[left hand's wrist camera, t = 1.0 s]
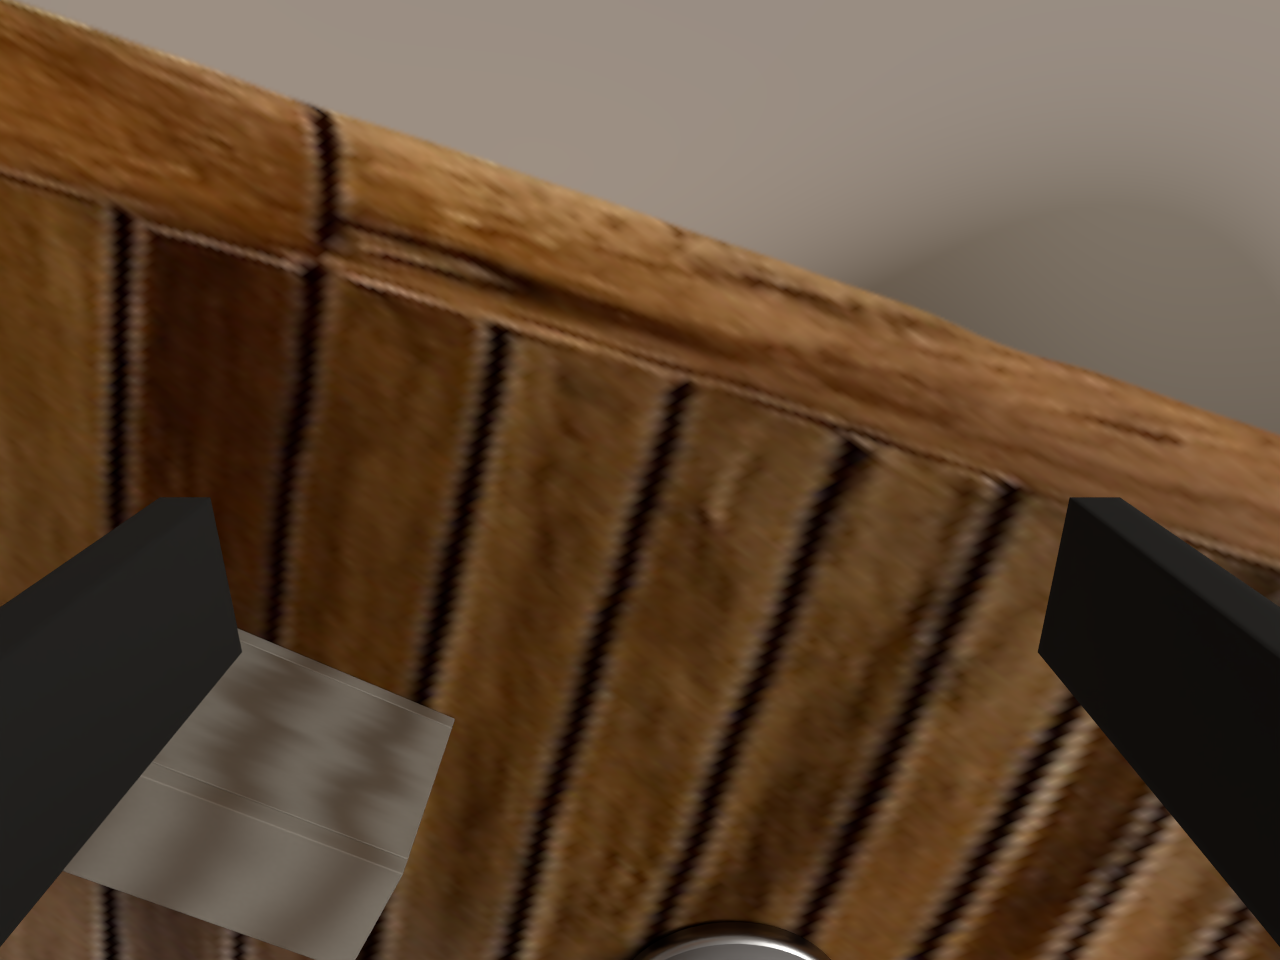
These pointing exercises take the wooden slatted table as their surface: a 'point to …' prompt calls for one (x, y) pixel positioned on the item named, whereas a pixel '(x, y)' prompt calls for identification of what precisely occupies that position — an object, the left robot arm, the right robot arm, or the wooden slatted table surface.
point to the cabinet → (277, 805)
